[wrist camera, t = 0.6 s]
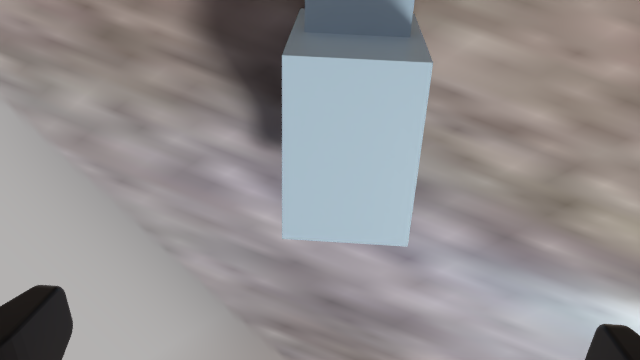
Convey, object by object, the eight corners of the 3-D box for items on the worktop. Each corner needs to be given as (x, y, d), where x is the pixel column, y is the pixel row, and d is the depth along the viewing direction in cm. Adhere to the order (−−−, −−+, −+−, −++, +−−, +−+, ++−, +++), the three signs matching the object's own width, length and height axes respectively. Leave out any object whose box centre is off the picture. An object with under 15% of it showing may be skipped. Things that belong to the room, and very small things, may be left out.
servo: (419, -32, 19) (441, 4, 14) (393, 196, 23) (402, 282, 18) (301, -37, 19) (281, -3, 14) (297, 190, 23) (282, 275, 18)
